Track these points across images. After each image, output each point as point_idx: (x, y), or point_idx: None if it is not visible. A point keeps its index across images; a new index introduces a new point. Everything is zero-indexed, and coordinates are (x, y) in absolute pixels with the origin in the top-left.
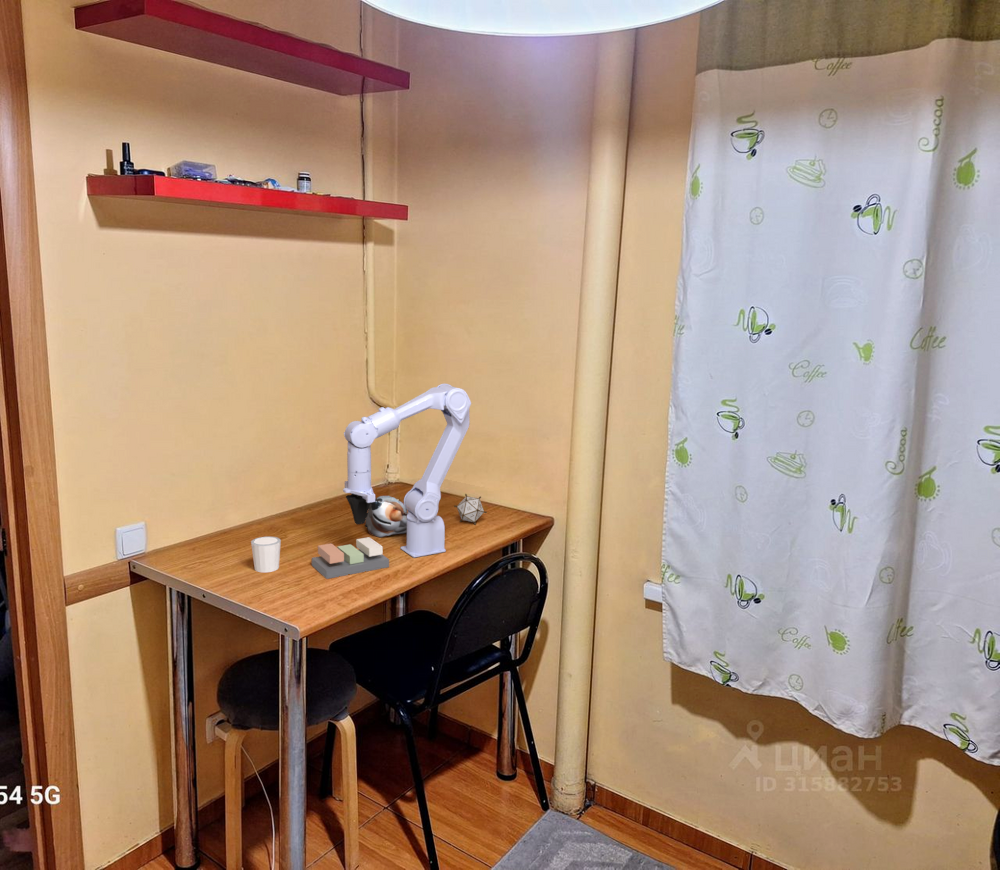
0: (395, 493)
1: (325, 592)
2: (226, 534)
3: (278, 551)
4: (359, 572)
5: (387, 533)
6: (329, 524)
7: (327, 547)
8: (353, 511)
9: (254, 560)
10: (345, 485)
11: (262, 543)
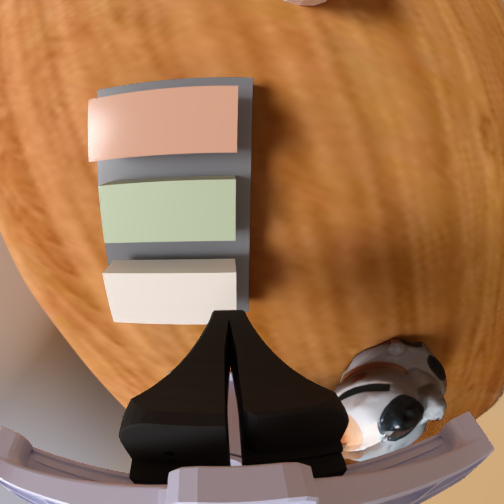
0: (480, 399)
1: (35, 78)
2: None
3: None
4: None
5: (345, 375)
6: (486, 275)
7: (190, 116)
8: (236, 349)
9: None
10: (470, 437)
11: None
